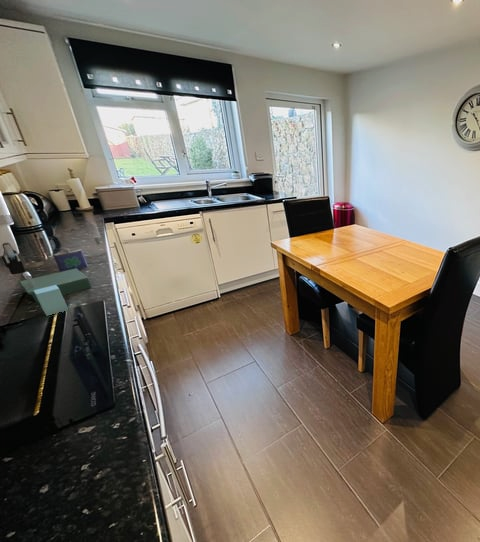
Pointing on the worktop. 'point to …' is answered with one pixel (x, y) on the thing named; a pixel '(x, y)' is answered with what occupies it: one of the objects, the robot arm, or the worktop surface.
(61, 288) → the green open tray
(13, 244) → the robot arm
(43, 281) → the bin lid
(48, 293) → the pale green block
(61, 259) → the purple box
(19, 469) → the worktop surface
